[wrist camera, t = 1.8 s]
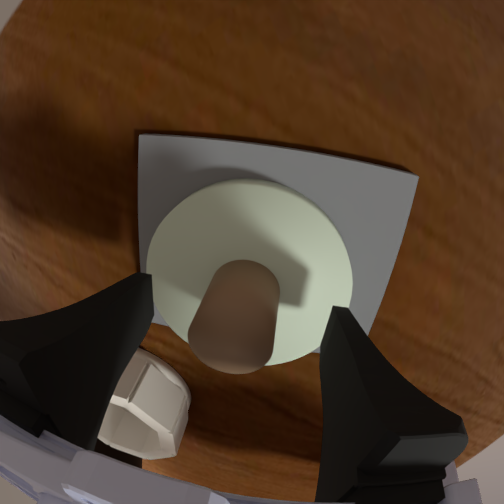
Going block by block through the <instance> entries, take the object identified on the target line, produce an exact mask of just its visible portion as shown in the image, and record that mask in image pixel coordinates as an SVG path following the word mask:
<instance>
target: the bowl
mask: <svg viewBox="0 0 504 504" xmlns="http://www.w3.org/2000/svg"><path fill="white" fill-rule="evenodd" d="M190 403H191V393H190V390H189V388H188V386H187V384H186V382H185V381H184V379H183V378H182V377H181V376H180V375H179V373H178V372H177V371H176V370H175V369H173V368H172V367H171V366H170V365H169V364H167V363H166V362H165V361H163V360H162V359H160V358H159V357H157V356H155V355H154V354H152V353H150V352H148V351H146V350H143V349H141V348H138V349H137V350H136V352H135V354H134V355H133V357H132V359H131V360H130V362H129V364H128V365H127V367H126V369H125V370H124V372H123V374H122V376H121V377H120V379H119V381H118V384H117V386H116V388H115V391H114V393H113V395H112V398H111V400H110V403H109V405H108V408H107V411H106V413H105V416H104V419H103V422H102V425H101V428H100V431H99V434H98V439H100V440H101V441H102V442H104V443H105V444H107V445H110V447H112V448H115V449H118V450H120V451H123V452H126V453H129V454H132V455H135V456H137V457H140V458H143V459H149V460H153V459H160V458H167V457H174V456H175V455H176V454H177V451H178V448H179V445H180V442H181V439H182V437H183V434H184V431H185V428H186V425H187V422H188V409H189V406H190Z"/></svg>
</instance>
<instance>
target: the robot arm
mask: <svg viewBox="0 0 504 504" xmlns="http://www.w3.org/2000/svg"><path fill="white" fill-rule="evenodd" d="M153 317H154V302H153V287H152V274H147V273H142V272H137V273H135V274H133V275H131V276H129V277H127V278H125V279H123V280H121V281H119V282H117V283H115V284H113V285H112V286H110V287H108V288H106V289H104V290H102V291H100V292H98V293H96V294H94V295H92V296H90V297H88V298H86V299H84V300H81V301H79V302H77V303H74V304H72V305H69V306H67V307H64V308H61V309H58V310H55V311H52V312H48V313H45V314H41V315H38V316H33V317H29V318H24V319H18V320H11V321H0V476H1V477H3V478H4V479H5V480H7V481H8V482H9V483H11V484H12V485H14V486H15V487H17V488H18V489H19V490H21V491H22V492H23V493H25V494H26V495H28V496H29V497H31V498H33V499H34V500H36V501H37V504H482V500H481V496H480V491H479V487H478V482H477V479H475V478H474V479H470V480H465V481H461V482H459V479H458V475H457V470H456V466H455V462H454V459H456V458H457V457H458V456H459V455H460V454H461V453H462V452H463V450H464V449H465V447H466V446H467V444H468V436H467V432H466V429H465V426H464V423H463V420H462V418H461V417H460V416H459V415H457V414H455V413H453V412H451V411H450V410H448V409H446V408H444V407H442V406H441V405H439V404H438V403H436V402H435V401H433V400H432V399H430V398H429V397H427V396H426V395H425V394H423V393H422V392H421V391H419V390H418V389H417V388H416V387H415V386H413V385H412V384H411V383H410V382H409V381H407V380H406V379H405V378H404V377H403V376H402V375H401V374H400V373H399V372H398V371H397V370H396V369H395V368H394V367H393V366H392V365H391V364H390V363H389V362H388V361H387V360H386V358H385V357H384V356H383V355H382V354H381V352H380V351H379V350H378V349H377V348H376V346H375V345H374V344H373V342H372V341H371V340H370V338H369V337H368V336H367V334H366V333H365V332H364V330H363V329H362V327H361V326H360V324H359V323H358V322H357V320H356V319H355V317H354V316H353V314H352V313H351V311H350V310H349V308H348V307H341V306H332V310H331V313H330V316H329V319H328V322H327V326H326V329H325V332H324V335H323V338H322V341H321V344H320V365H319V367H320V379H321V391H322V404H323V437H322V450H321V461H320V470H319V478H318V485H317V491H316V497H315V502H297V501H284V500H273V499H264V498H256V497H249V496H242V495H236V494H230V493H225V492H219V491H214V490H212V489H210V488H206V487H203V486H200V485H196V484H193V483H190V482H186V481H182V480H178V479H175V478H171V477H167V476H164V475H160V474H157V473H154V472H151V471H147V470H144V469H141V468H138V467H135V466H132V465H129V464H127V463H124V462H121V461H118V460H116V459H113V458H111V457H108V456H105V455H103V454H100V453H96V452H94V449H95V445H96V441H97V438H98V434H99V431H100V428H101V425H102V422H103V419H104V416H105V413H106V411H107V408H108V405H109V403H110V400H111V398H112V395H113V393H114V391H115V388H116V386H117V384H118V381H119V379H120V377H121V376H122V374H123V372H124V370H125V369H126V367H127V365H128V364H129V362H130V360H131V359H132V357H133V355H134V354H135V352H136V350H137V349H138V347H139V345H140V344H141V342H142V340H143V339H144V337H145V335H146V333H147V331H148V329H149V327H150V324H151V322H152V320H153Z"/></svg>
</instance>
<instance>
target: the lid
mask: <svg viewBox="0 0 504 504" xmlns="http://www.w3.org/2000/svg"><path fill="white" fill-rule="evenodd" d="M146 273H147V274H152V287H153V301H154V303H155V306H156V307H157V309H158V311H159V313H160V314H161V316H162V317H163V319H164V320H165V321H166V323H167V324H168V325H169V326H170V327H171V328H172V330H173V331H174V332H175V333H176V334H177V335H179V336H180V337H181V338H182V339H183V340H184V341H186V342H187V343H189V345H190V348H191V350H192V351H193V353H194V354H195V355H196V356H197V358H198V359H199V360H201V361H202V362H203V363H205V364H206V365H208V366H209V367H211V368H213V369H216V370H218V371H221V372H225V373H231V374H245V373H250V372H253V371H256V370H258V369H260V368H262V367H263V366H264V365H274V364H280V363H284V362H288V361H292V360H295V359H297V358H300V357H302V356H304V355H306V354H308V353H310V352H312V351H314V350H315V349H316V348H318V347H319V346H320V344H321V341H322V338H323V335H324V332H325V329H326V326H327V322H328V319H329V316H330V313H331V310H332V306H341V307H348V308H349V304H350V300H351V296H352V286H353V280H352V269H351V265H350V261H349V257H348V254H347V250H346V247H345V244H344V242H343V239H342V237H341V234H340V233H339V231H338V229H337V228H336V226H335V224H334V223H333V221H332V220H331V219H330V218H329V217H328V215H327V214H326V213H325V212H324V211H323V210H322V209H321V208H320V207H319V206H318V205H317V204H316V203H315V202H313V201H312V200H310V199H309V198H307V197H306V196H305V195H303V194H301V193H299V192H297V191H296V190H294V189H292V188H290V187H287V186H284V185H281V184H278V183H276V182H271V181H266V180H261V179H249V178H244V179H231V180H226V181H221V182H217V183H214V184H211V185H208V186H205V187H203V188H202V189H200V190H198V191H196V192H194V193H192V194H191V195H190V196H188V197H187V198H186V199H184V200H183V201H182V202H181V203H180V204H178V205H177V206H176V207H175V208H174V209H173V210H172V211H171V212H170V213H169V214H168V215H167V216H166V217H165V218H164V219H163V221H162V222H161V223H160V225H159V226H158V228H157V230H156V232H155V234H154V236H153V237H152V240H151V243H150V246H149V249H148V255H147V264H146Z"/></svg>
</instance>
